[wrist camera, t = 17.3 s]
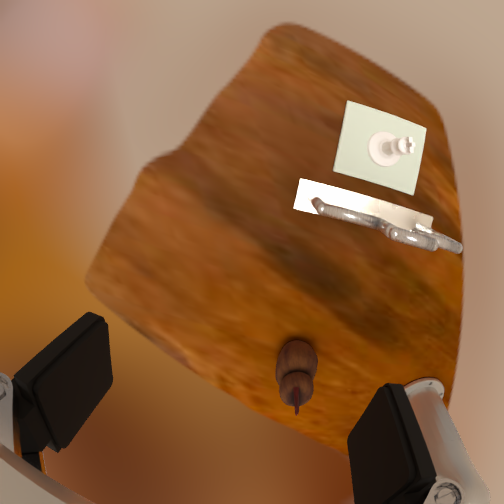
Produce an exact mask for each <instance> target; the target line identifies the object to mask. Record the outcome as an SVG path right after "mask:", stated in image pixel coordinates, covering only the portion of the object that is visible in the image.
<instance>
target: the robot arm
mask: <svg viewBox="0 0 504 504" xmlns="http://www.w3.org/2000/svg"><path fill="white" fill-rule="evenodd" d="M112 382H113V375H112V366H111V357H110V345H109V332H108V324H107V323H106V322H105V320H104V318H103V317H102V316H99V315H97V314H94V313H92V312H87V313H86V314H84V315H83V316H82V317H81V318H79V319H78V320H77V321H76V322H75V323H74V324H72V325H71V326H70V327H69V328H67V330H65V331H64V332H63V333H61V334H60V335H59V336H58V337H57V338H55V339H54V340H53V341H52V342H51V343H50V344H49V345H47V346H46V347H45V348H44V349H43V350H42V351H41V352H39V353H38V354H37V355H36V356H35V357H34V358H33V359H31V360H30V361H29V362H28V363H27V364H26V365H25V366H24V367H22V368H21V369H20V370H19V371H18V372H17V373H16V374H15V375H14V379H12V380H10V378H9V377H7V376H6V375H5V374H3V373H0V504H96V503H94V502H92V501H89V500H88V499H86V498H84V497H82V496H80V495H79V494H77V493H75V492H73V491H72V490H70V489H68V488H66V487H65V486H63V485H61V484H60V483H58V482H56V481H55V480H53V479H51V478H50V477H48V476H47V473H46V468H45V463H44V457H43V449H44V448H45V447H46V446H48V447H49V448H51V449H52V450H54V451H55V452H57V453H58V452H59V451H60V450H61V448H66V447H67V446H68V445H69V444H70V442H71V441H72V439H73V438H74V436H75V435H76V434H77V432H78V431H79V430H80V428H81V427H82V425H83V424H84V422H85V421H86V420H87V418H88V417H89V416H90V414H91V413H92V412H93V410H94V409H95V407H96V406H97V405H98V403H99V402H100V400H101V399H102V398H103V397H104V395H105V394H106V393H107V391H108V390H109V389H110V387H111V385H112ZM443 396H444V387H443V385H442V383H441V382H440V381H439V380H438V379H435V378H422V379H418V380H416V381H413V382H411V383H409V384H407V385H406V386H404V387H403V385H401V384H392V383H386V384H385V385H384V386H383V387H380V388H379V389H378V390H377V392H376V394H375V395H374V397H373V399H372V400H371V402H370V404H369V405H368V407H367V408H366V410H365V411H364V413H363V415H362V416H361V418H360V419H359V421H358V422H357V424H356V425H355V427H354V428H353V430H352V431H351V433H350V434H349V436H348V440H347V444H348V452H349V459H350V467H351V475H352V484H353V493H354V502H355V504H489V503H490V492H489V489H488V487H487V485H486V484H485V482H484V480H483V479H482V477H481V476H480V475H479V473H478V471H477V470H476V468H475V466H474V465H473V463H472V461H471V459H470V457H469V455H468V453H467V451H466V449H465V447H464V444H463V442H462V440H461V438H460V436H459V433H458V431H457V429H456V427H455V425H454V423H453V421H452V419H451V417H450V415H449V413H448V411H447V409H446V407H445V405H444V403H443V401H442V398H443Z"/></svg>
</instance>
